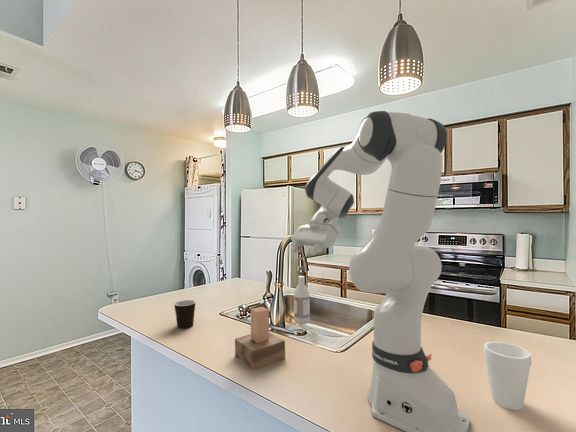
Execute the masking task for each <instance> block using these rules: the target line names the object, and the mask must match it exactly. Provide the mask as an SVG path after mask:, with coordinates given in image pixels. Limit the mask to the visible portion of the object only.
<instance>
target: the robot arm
mask: <svg viewBox="0 0 576 432" xmlns="http://www.w3.org/2000/svg"><path fill="white" fill-rule="evenodd" d="M357 132H358V133H357V135H356V136H355V138H354V140H353V141H352V143H351V144H349V145H346V146H339V147H338V148H337V149H335V151H334V152H333V153H332V154H331V155H330V156H329V157H328V158H327V160H326V161H325V162H324V164H323V165H322V166H321V167H320V169H319V170H318V171H317V172H316V173H315V174H314V175H313V176H312V177H310V178H309V179H308V181H307V183H306V184H305V187H304V191H305V194H306V197H307V198H308V199H310V200H312V201H314V202H317V203H318V204H320V207H319V209H318V210H317V211H316V212H315V213H314V214H313V216H312V217H311V218H310V220H309V222H308V224H304V225H301V226H299V227H298V228H297V229H296V230H295V231H294V233H292V235H291V236H290V240H291V242H292V243H293V246H292V248H291V252H292V253H294V254H297V253H298V252H299V247H301V246H307V247H312V248H310V249H309V250H308V253H307V254H308V255H309V256H315V255H316V253H317V252H318V251H320V250H321V249H322V248H327V249H329V248H331V247H333V246H334V245H335V243H336V241H337V240H338V238H339V237H338V236H339V235H341V233H342V230H341V228H340V226H339V225H338V224H337V223H336V222H338V220H339V219H341V218H345V217H347V215H348V213H349V211H350V209H351V208H353V206H354V204H355V199H354V198H355V197H354V195H353V193H351V191H349V190H347V189H346V188H344V187H343V186H341V185H339V184H338V183H336V182H335V181H333V180H331V179H330V178H329V176H330V175H331V174H332V173H333V171H337V170H338V171H345V172H348V173H351V174H354V175H359V176H366V175H370V174H374V173H375V172H376V171H377V170H379V169H380V168H381V166H382V165H383V164H384V163H385V162H386V160H388V161H389V163H390V165H391V170H390V171H391V172H390V177H389V182H388V185H387V191H386V196H385V200H384V204H383V209H382V213H381V216H380V220H379V222H378V225H377V226H376V229H375V231H374V232H373V233H372V235H371V237H370V238H369V240H368V241H367V242H366V243H365V245H364V246H363V247H361V248H360V250H358V251H356V252H355V253H354V254H353V255H352V257H351V259H350V261H349V263H348V265H349V266H348V275H349V278H350V280H351V282H352V284H353V285H354V286H355V287H356V289H357V290H359V291H361V292H364V293H372V294H385V296H384V298H383V299H382V301H381V303H379V305H378V306H377V307H376V308H375V310H374V312H373V341H372V342H371V345H372V347H371V351H372V352H371V357H372V359H373V368H372V377H371V384H370V387H369V390H368V394H367V399H368V402H369V404H370V405H371V416H372V417H374V418H376V419H378V420H380V421H382V422H385V423H386V424H389V425H391V426H393V427H395V428H397V429H400V430H402V431H404V432H469V429H470V419H469V415H468V414H467V413H466V412H464V411H463V410H461V409H459V408H458V404H457V399H456V396H455V393H454V391H453V389H452V388H451V387H450V386H449V385H448V384H446V382H445V381H444V380H443V379H442V378H441V377H440V376H439V375H438V374H437V373H436V372H435V371H434V370H433V369H432V367H431V366H430V365H429V362H430V361H431V360H432V359H433V358H432V353H430V354H428V355H426V354H425V351H424V350H423V347H422V316H423V312H424V308H425V307H424V306H425V303H426V301H427V297H428V295H429V292H430V290H431V288H432V286H433V285H434V283H435V282H436V281H437V280H438V278H440V276H441V273H442V268H443V264H442V261H441V258H440V256H439V254H438V253H437V252H436V251H435V250H434V249H432V248H431V247H427V246H424V245H419V244H416V243H417V241H418V240H419V239H421V237H423V236H424V235H425V234H426V233H427V232H428V231H429V230H430V228H431V226H432V221H433V218H434V214H435V209H436V205H437V200H438V197H439V192H440V186H441V180H442V170H443V169H442V168H443V156H442V153H443V151H444V149H445V147H446V145H447V140H448V138H447V137H448V134H447V129H446V127H445V126H444V124H443V123H442V122H439V121H437V120H436V119H432V118H426V117H425V118H424V117H421V116H418V115H414V114H413V115H412V114H411V113H405V112H397V111H395V112H394V111H393V112H392V111H389V112H388V111H385V110H379V111H378V110H377V111H371V112H369V113H367V114H366V115H365V116H364V118H363V119H362V120H361V122H360V124H359V127H358V131H357Z"/></svg>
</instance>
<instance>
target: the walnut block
mask: <svg viewBox="0 0 576 432" xmlns="http://www.w3.org/2000/svg"><path fill="white" fill-rule="evenodd" d="M234 350H235V351H234V352H235V353H234V355H235V357H236V358H238V359H239V360H240V361H241V362H243V364H244V363H245V365H247V366H248V367H250V368H251V369H252V370H258V369H259V368H262V367H265V366H268V365H271V364H273V363H276V362H278V361H280V360H283V359H285V358H286V340H285V339H283V338H281V337H279V336H277V335H275V334H273V333H271V332H270V331H269V340H267V341H264V342H260V343H256V342H255V341H253V340H252V339H251V333H250V334H246V335H243V336H240V337H237V338H235V339H234Z"/></svg>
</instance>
